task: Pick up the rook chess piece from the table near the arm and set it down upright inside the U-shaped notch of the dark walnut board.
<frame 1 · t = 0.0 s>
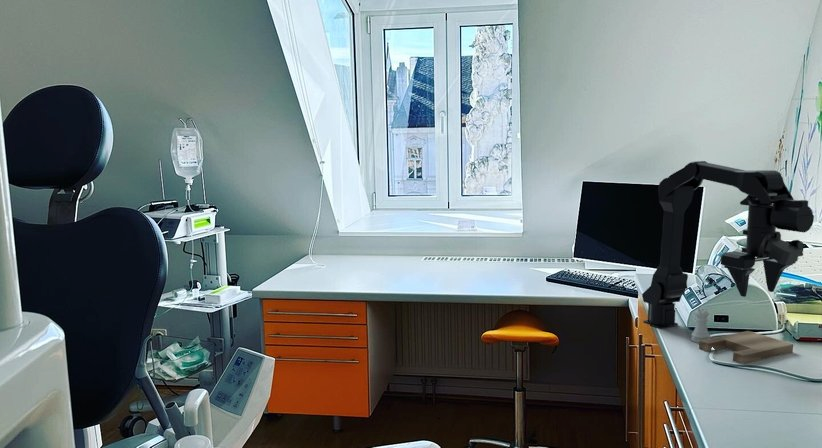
hand: (757, 294, 157), 15 cm above the worktop, tool pointing down, fingers open, 9 cm apart
rook chess piece: (700, 341, 170), on the worktop
notched board: (745, 350, 162), on the worktop
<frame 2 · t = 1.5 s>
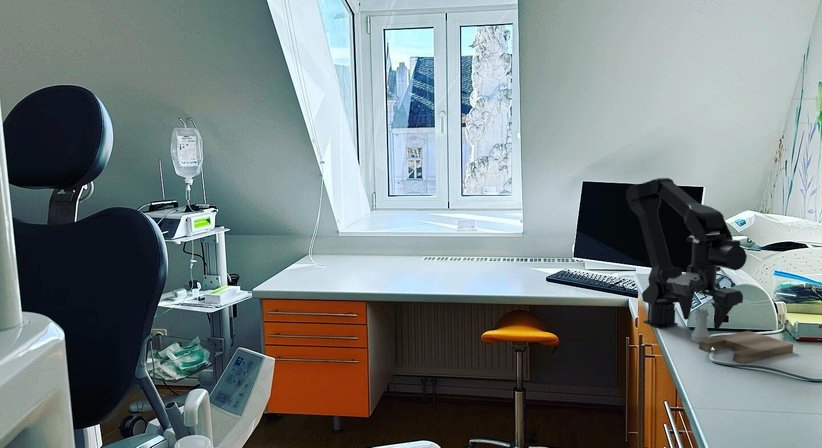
hand: (701, 324, 169), 4 cm above the worktop, tool pointing down, fingers open, 9 cm apart
nothing on the worktop moved.
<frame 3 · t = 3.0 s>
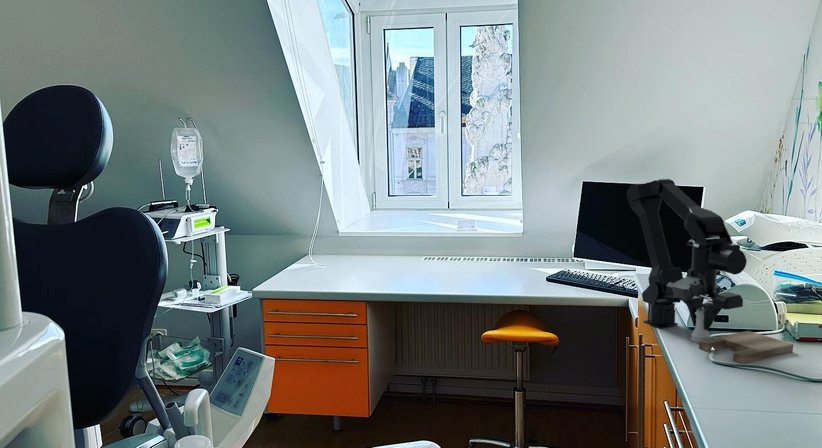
hand: (701, 328, 169), 3 cm above the worktop, tool pointing down, fingers closed on rook chess piece, 3 cm apart
rook chess piece: (700, 341, 170), on the worktop, touching gripper
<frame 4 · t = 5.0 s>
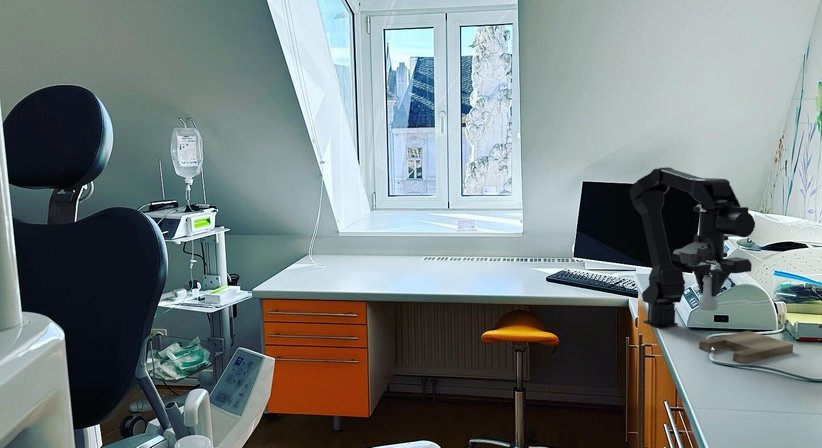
hand: (708, 295, 166), 12 cm above the worktop, tool pointing down, fingers closed on rook chess piece, 3 cm apart
rook chess piece: (707, 309, 167), point 9 cm above the worktop, touching gripper
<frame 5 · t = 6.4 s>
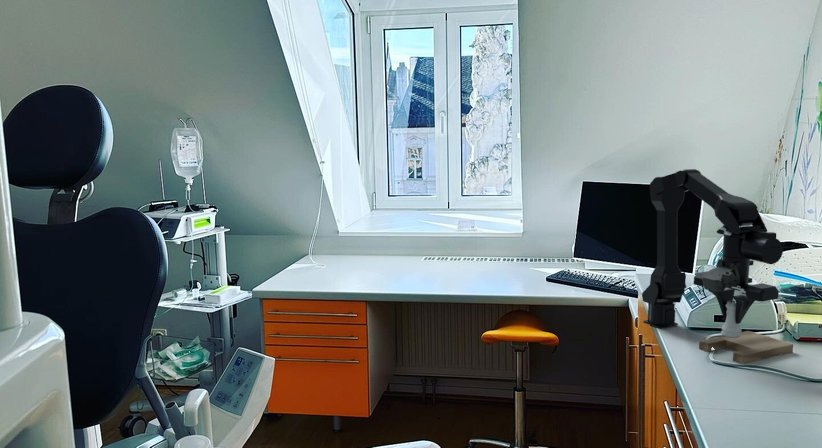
hand: (731, 321, 159), 8 cm above the worktop, tool pointing down, fingers closed on rook chess piece, 3 cm apart
rook chess piece: (731, 336, 160), point 4 cm above the worktop, touching gripper
when the fingers open (5 cm above the worktop, at t = 7.6 s): rook chess piece drops 1 cm, on the worktop.
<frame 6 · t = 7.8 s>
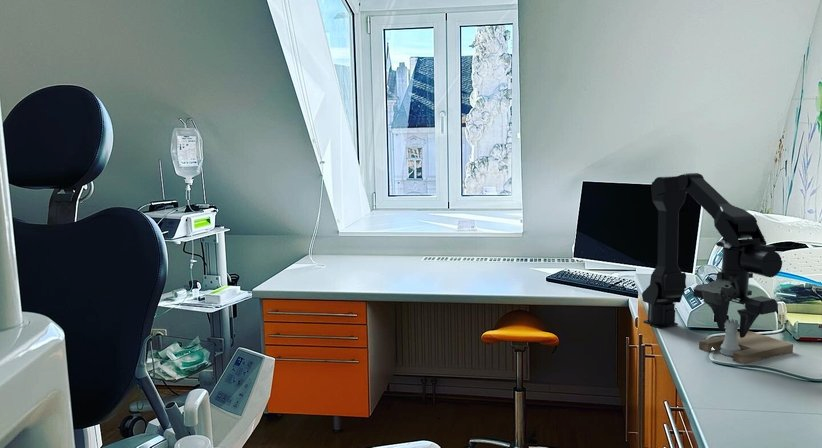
hand: (731, 334, 159), 5 cm above the worktop, tool pointing down, fingers open, 5 cm apart
rook chess piece: (730, 354, 160), on the worktop
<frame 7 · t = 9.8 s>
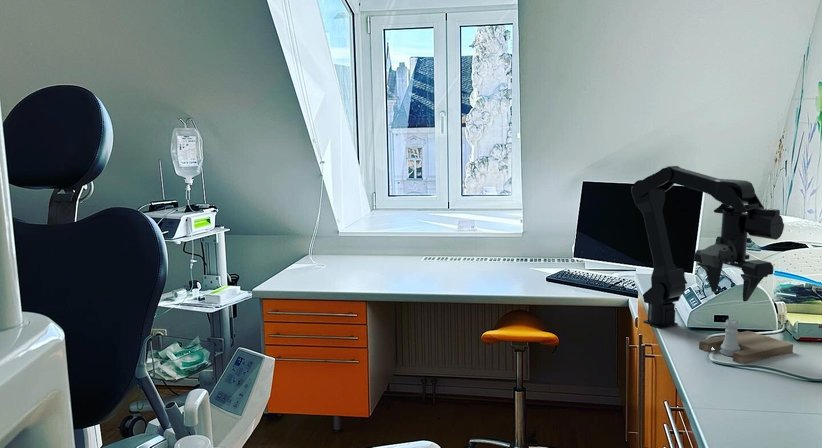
hand: (729, 296, 167), 12 cm above the worktop, tool pointing down, fingers open, 9 cm apart
nothing on the worktop moved.
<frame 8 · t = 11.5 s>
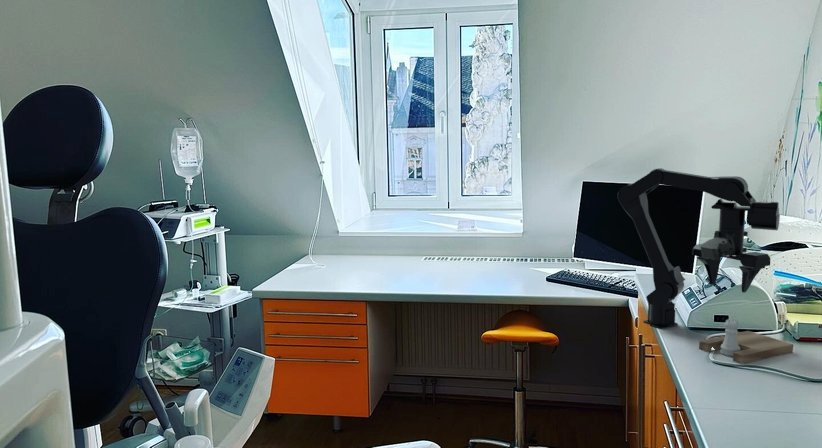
hand: (728, 288, 173), 12 cm above the worktop, tool pointing down, fingers open, 9 cm apart
nothing on the worktop moved.
at the end: rook chess piece 0.1 cm from the target spot on the notched board, point 0.0 cm above the notched board's base; rook chess piece tilted 0°; the gripper is holding nothing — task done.
